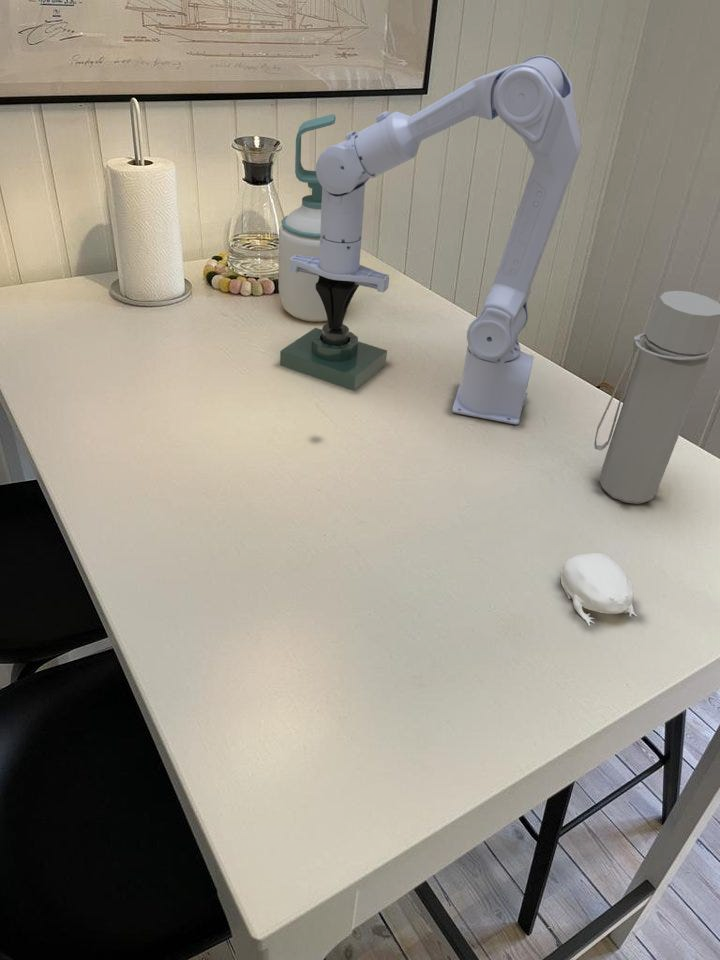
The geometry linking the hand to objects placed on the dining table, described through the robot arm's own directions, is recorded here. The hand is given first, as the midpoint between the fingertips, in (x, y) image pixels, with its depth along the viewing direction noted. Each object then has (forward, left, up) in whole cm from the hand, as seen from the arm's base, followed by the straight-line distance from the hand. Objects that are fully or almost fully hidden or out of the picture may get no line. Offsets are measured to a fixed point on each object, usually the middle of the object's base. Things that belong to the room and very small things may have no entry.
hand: (335, 326), depth 112 cm
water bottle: (-43, +18, -7) cm, 46 cm away
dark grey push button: (0, 0, -2) cm, 2 cm away
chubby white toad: (-40, +39, -7) cm, 56 cm away
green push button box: (0, 0, -6) cm, 6 cm away
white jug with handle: (+8, -17, -7) cm, 20 cm away
